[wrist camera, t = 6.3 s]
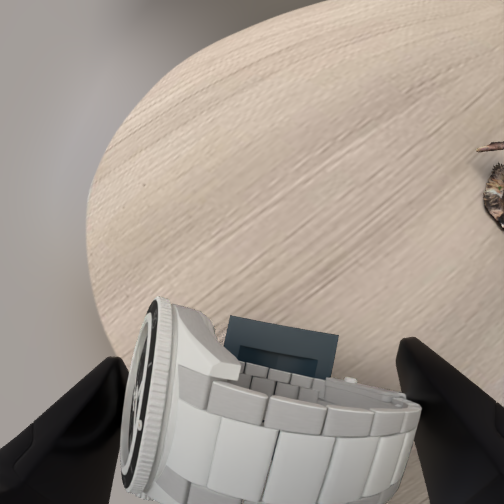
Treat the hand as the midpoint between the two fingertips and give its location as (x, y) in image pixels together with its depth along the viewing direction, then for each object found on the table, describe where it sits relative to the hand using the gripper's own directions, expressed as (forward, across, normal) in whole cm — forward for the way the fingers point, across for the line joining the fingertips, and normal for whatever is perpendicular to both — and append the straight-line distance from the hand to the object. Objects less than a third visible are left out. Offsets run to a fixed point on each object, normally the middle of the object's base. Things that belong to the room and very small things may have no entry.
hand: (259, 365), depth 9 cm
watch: (+4, 0, +6) cm, 7 cm away
